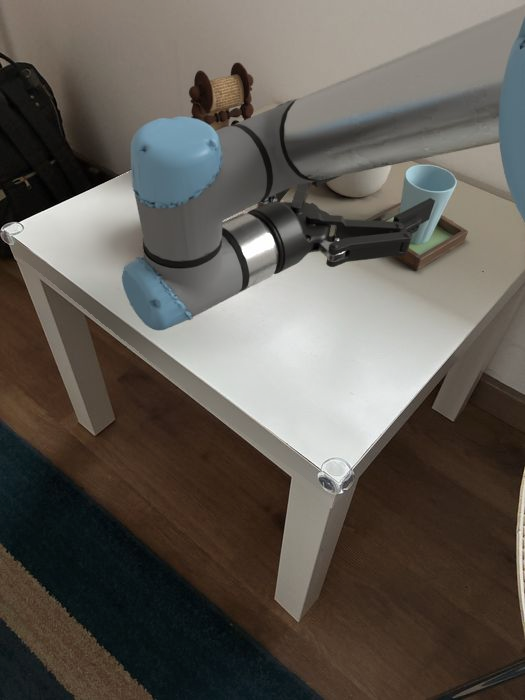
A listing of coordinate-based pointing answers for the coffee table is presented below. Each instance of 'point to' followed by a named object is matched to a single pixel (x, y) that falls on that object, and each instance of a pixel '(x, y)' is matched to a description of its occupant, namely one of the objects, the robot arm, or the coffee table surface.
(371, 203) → the coffee table surface
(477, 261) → the coffee table surface
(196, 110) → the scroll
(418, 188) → the cup
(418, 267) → the wooden serving tray
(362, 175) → the planter
